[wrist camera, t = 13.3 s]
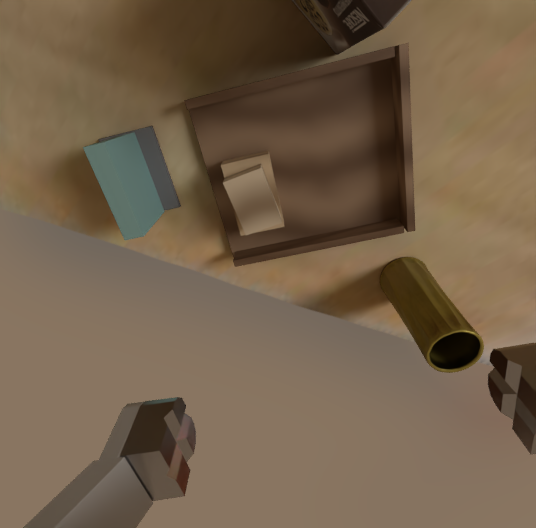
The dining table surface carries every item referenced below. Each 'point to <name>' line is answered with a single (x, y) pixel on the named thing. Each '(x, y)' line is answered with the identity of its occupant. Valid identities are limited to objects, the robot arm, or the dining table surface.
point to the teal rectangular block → (126, 183)
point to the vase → (431, 316)
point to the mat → (155, 166)
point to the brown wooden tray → (318, 152)
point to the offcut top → (252, 199)
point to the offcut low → (247, 162)
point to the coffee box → (349, 19)
